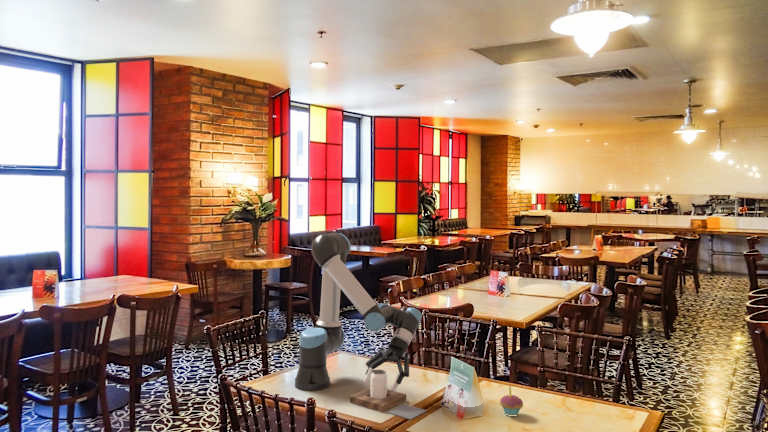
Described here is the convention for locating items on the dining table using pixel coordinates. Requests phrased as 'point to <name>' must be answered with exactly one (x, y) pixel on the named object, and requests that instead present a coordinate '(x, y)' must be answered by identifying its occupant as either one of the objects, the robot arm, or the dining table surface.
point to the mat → (406, 411)
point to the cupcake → (511, 403)
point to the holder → (376, 404)
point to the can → (378, 384)
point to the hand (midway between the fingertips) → (378, 386)
